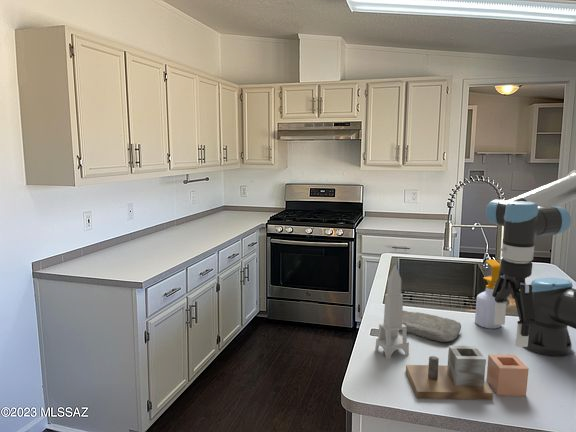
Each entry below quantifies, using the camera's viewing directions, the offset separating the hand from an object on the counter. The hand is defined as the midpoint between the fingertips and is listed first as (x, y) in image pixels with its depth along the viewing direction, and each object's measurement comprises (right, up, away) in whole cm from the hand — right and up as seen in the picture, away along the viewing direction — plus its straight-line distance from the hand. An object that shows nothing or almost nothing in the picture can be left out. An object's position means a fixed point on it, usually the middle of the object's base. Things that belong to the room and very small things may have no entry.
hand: (509, 334), depth 120 cm
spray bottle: (+14, -8, +45) cm, 48 cm away
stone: (-12, -10, +40) cm, 43 cm away
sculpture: (-27, -12, +24) cm, 38 cm away
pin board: (-16, -15, +5) cm, 23 cm away
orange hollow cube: (0, -16, +3) cm, 16 cm away
